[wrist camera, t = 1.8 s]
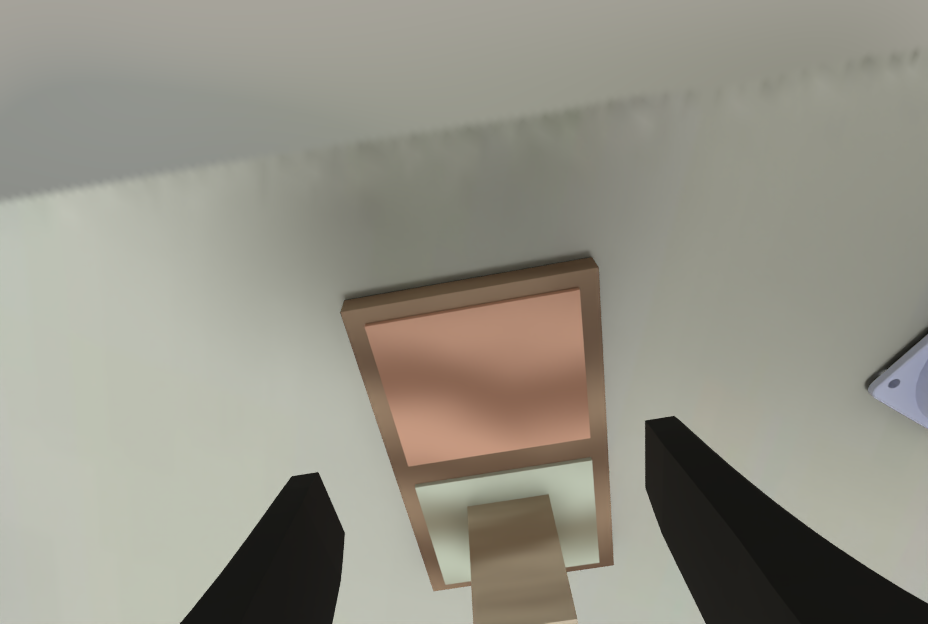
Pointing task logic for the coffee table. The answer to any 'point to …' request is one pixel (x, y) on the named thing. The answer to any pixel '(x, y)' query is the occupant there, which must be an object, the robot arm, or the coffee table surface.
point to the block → (518, 564)
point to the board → (491, 405)
